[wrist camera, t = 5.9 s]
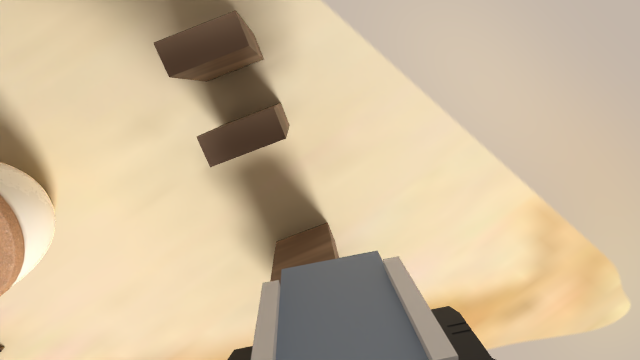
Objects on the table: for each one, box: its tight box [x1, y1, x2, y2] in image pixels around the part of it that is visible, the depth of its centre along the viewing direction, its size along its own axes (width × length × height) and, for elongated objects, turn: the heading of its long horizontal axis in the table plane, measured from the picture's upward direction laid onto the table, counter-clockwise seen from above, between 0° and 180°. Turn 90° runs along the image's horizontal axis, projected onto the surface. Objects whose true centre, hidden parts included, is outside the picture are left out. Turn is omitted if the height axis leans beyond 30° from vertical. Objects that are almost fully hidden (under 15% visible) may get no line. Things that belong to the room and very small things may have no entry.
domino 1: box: [154, 11, 263, 81], centre depth 25 cm, size 2×5×9 cm, turn 110°
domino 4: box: [276, 251, 429, 360], centre depth 15 cm, size 2×5×9 cm, turn 100°
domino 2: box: [197, 103, 289, 167], centre depth 27 cm, size 2×5×9 cm, turn 110°
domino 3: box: [270, 223, 339, 285], centre depth 30 cm, size 2×5×9 cm, turn 110°
